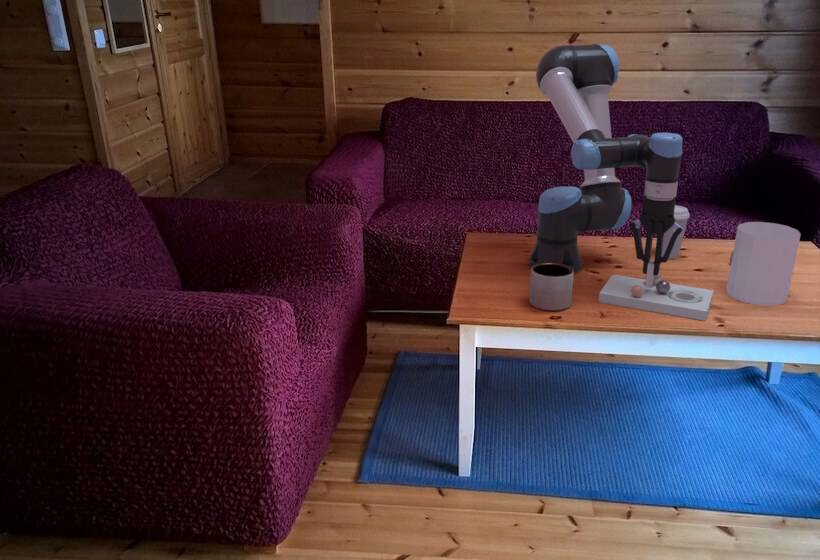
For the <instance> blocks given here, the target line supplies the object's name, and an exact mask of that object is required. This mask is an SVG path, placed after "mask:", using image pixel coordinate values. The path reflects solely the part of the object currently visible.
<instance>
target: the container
mask: <svg viewBox="0 0 820 560" xmlns="http://www.w3.org/2000/svg"><path fill="white" fill-rule="evenodd" d="M800 239H801V232H800V231H799V230H798V229H796V228H793V227H791V226H789V225H784V224H780V223H774V222H764V221H746V222H743V223H740V224H738V225H737V228H736V234H735V240H734V245H733V250H732V252H733V256H732V262H731V263H730V268H729V269H730V270H729V275H728V280H727V284H726V285H727V286H726V291H725V292H726V293H727V295H728V296H730V298H733V299H735V300H737V301H739V302H742V303H747V304H751V305H756V306H770V307H772V306H777V305H783V304H784V303H785V302H786V301H787V300H788V296H789V291H790V288H791V287H790V286H791V282H792V277H793V273H794V272H793V271H794V268H795V263H796V260H797V259H796V258H797V254H798V250H799V243H800V241H801V240H800Z"/></svg>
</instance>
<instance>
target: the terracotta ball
mask: <svg viewBox="0 0 820 560" xmlns="http://www.w3.org/2000/svg"><path fill="white" fill-rule="evenodd" d="M631 293H632V295H633V296H635V297H640V296H641V295H642V294H643V288H642V287H641V286H639V285H635V286H633V287H632V289H631Z"/></svg>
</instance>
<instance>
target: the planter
mask: <svg viewBox="0 0 820 560" xmlns="http://www.w3.org/2000/svg"><path fill="white" fill-rule="evenodd" d="M573 273H574V271H573V269H572V268H571V267H570V266H567V265H565V264H560V263H552V262H546V263H539V264H536V265H534V266H532V267H531V268H530V278H529V279H530V280H529V281H530V282H529V294H528V295H529V296H528V300H529V304H530V305H532V306H533V307H534V308H536V309H538V310H541V309H542V311H546V310H547V311H548V312H558V311H563V310H565V309H568V308H569V307H570V306H571V305H572V301H573V300H572V299H573V286H574V274H575V273H574V274H573Z"/></svg>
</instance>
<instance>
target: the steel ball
mask: <svg viewBox="0 0 820 560" xmlns="http://www.w3.org/2000/svg"><path fill="white" fill-rule="evenodd" d="M669 283H670V282H669V281H667V280H666V279H665V280H664V279H661V280H660V281H659V282H658V283H657V284H656V290H657V291H658V292H659V293H661V294H665V293H667V292H668V291H669V290H670V284H671V283H670V284H669Z"/></svg>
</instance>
